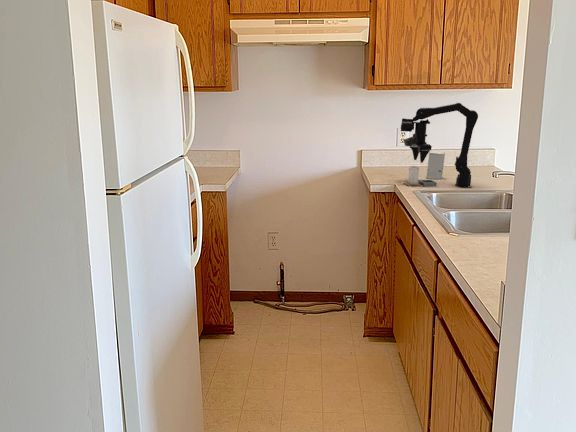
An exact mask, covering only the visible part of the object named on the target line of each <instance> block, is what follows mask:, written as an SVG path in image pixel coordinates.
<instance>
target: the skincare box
mask: <svg viewBox="0 0 576 432" xmlns="http://www.w3.org/2000/svg"><path fill="white" fill-rule="evenodd" d="M445 156H446V153H445V152H439V151H429V153H428V159H427V160H428V161H427V169H426V176H425V177H426V179H428V180H442V179H443V173H444V165H445Z"/></svg>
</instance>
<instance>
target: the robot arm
mask: <svg viewBox="0 0 576 432" xmlns="http://www.w3.org/2000/svg"><path fill="white" fill-rule="evenodd" d="M452 112H458V113H460V114H461V115H463V116H464V117H465V129H464V135H463V138H462V139H463V140H462V143H461V148H460V154H459V156H456V157H455V162H454V167H455V170H456V171H457V172H458V174H457V176H456V177H455V178H456V179H455V180H456V181H455V184H454V185H455V186H456V187H459V188H469V187H468V186H471V182H472V175H471V174H472V171H471V169H470V168H469V167H468V154H469V151H470V150H469V149H470V147H471V142H472V141H471V140H472V136H473V131H474V128H475V126H476V124H477V121H478V118H479V114H478V112H477V111H476V110H475V109H474V110H472V109H469V108H467V107H466V106H465V105H463V104H462V103H461V102H456V103H452V104H447V105H441V106H436V107H420V108H418V109H417V110H416V112H415V116H413V117H412V118H401V124H400V132H406V133H407V132H410V133H411V132H412V131H413V130H414V133H413V134H412V136H411V137H407V138H405V139H403V143H404V146H405V147H408V148H409V149H410V150H411V151H412V155H413V160H414V161H417V160H418V157H419V161H420V164H422V163H424V162H425V159H426V158H427V156H428V155H429V152H431V151H432V147H433V146H432V145H431V144H429V143H427V141H426V137H428V134H427V125H430V124H431V121H429V119H428V118H430V117H432V116H435V115H436V116H437V115H441V114H447V113H452ZM425 119H426V120H425Z"/></svg>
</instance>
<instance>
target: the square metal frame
mask: <svg viewBox="0 0 576 432" xmlns="http://www.w3.org/2000/svg"><path fill="white" fill-rule="evenodd" d="M418 183H419V184H421V185H423V186H422V187H437V184H438V182H436V181H434V180H433V179H418Z"/></svg>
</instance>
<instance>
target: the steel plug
mask: <svg viewBox="0 0 576 432" xmlns="http://www.w3.org/2000/svg"><path fill="white" fill-rule="evenodd" d="M419 174H420V167H419V166H416V165H412V166H410V165H409V166H408V179H407V182H408V183H409V184H418V180H419Z"/></svg>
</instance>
